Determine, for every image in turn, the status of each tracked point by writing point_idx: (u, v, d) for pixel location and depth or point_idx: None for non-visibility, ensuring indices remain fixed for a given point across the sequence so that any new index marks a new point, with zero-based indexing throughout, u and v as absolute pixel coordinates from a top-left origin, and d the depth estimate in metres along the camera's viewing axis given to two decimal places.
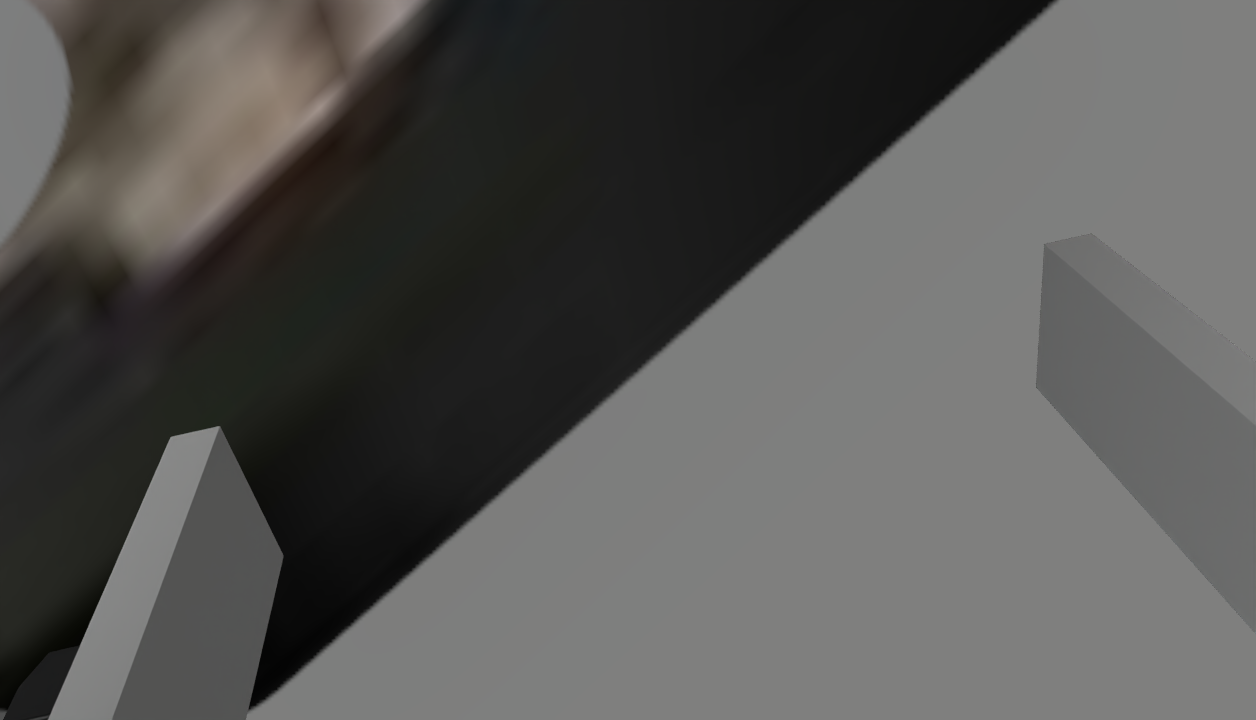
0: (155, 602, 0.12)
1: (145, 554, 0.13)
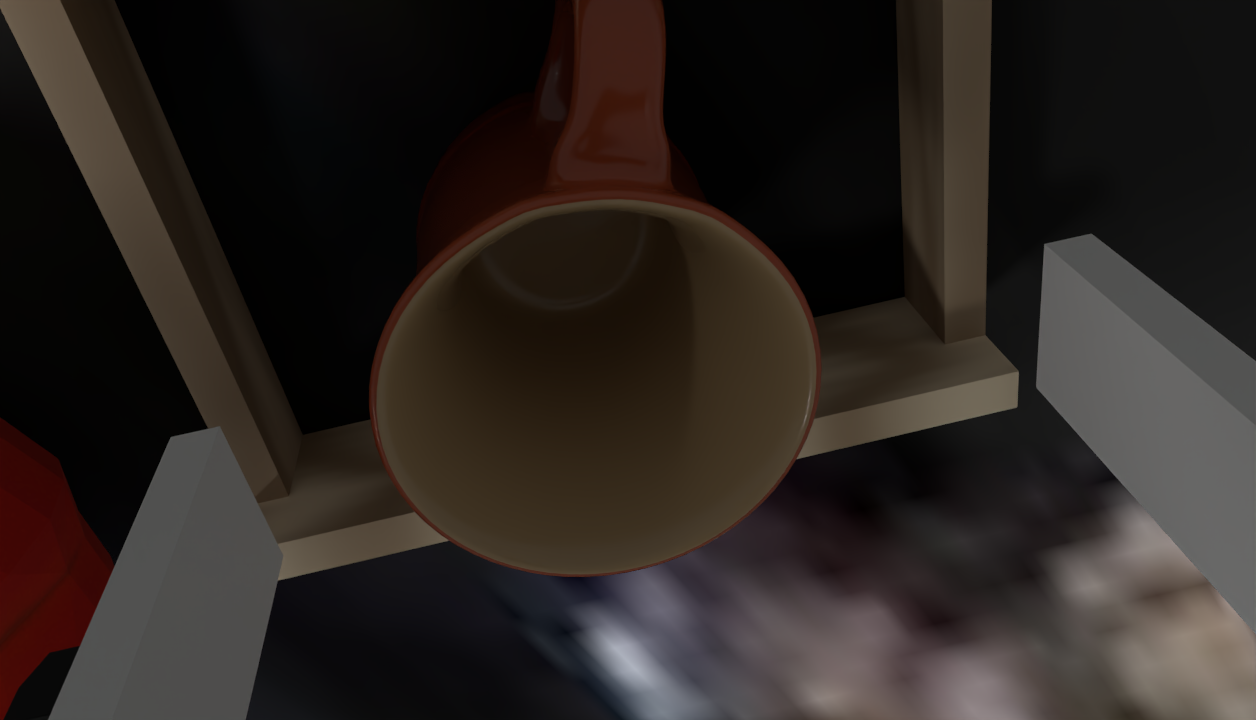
0: (155, 602, 0.12)
1: (145, 554, 0.13)
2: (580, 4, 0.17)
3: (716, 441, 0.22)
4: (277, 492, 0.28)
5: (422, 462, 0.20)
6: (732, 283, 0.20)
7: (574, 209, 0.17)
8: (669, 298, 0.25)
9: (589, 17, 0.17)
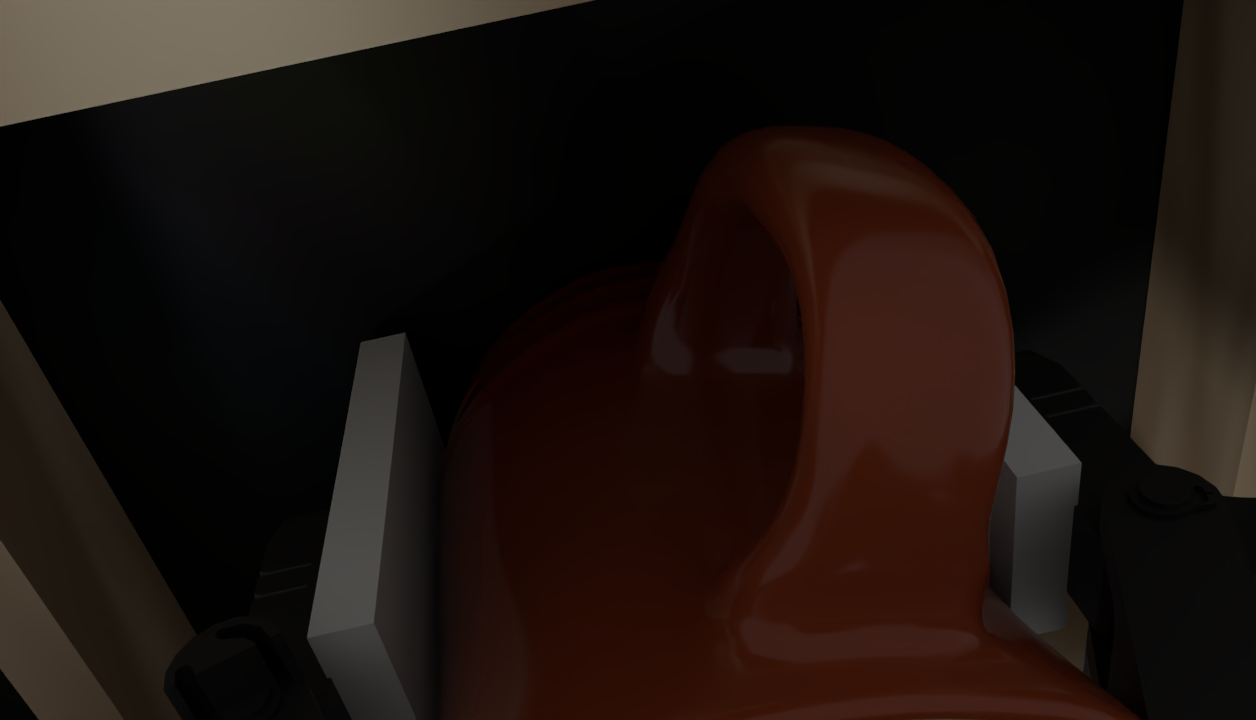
0: (390, 467, 0.13)
1: (368, 432, 0.14)
2: (825, 289, 0.07)
3: None
4: None
5: None
6: None
7: None
8: None
9: (851, 325, 0.07)
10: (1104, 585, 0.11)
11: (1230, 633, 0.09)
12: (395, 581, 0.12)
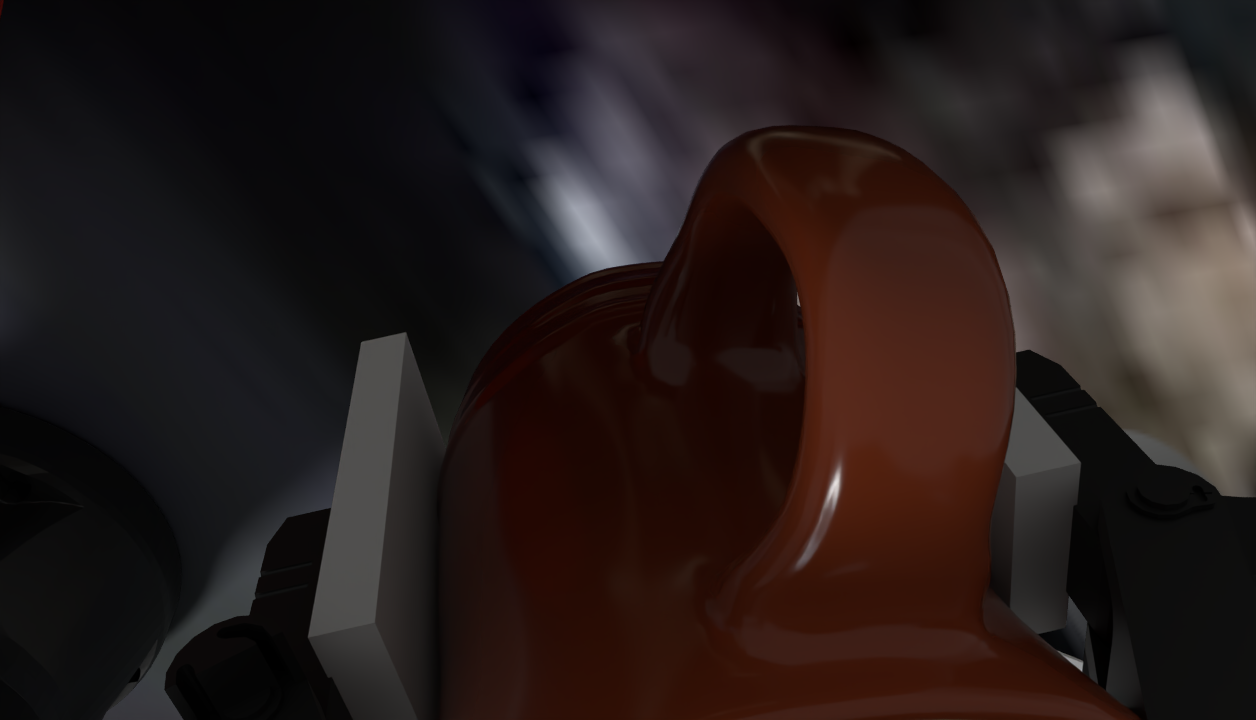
0: (392, 467, 0.13)
1: (369, 431, 0.14)
2: (826, 289, 0.07)
3: None
4: None
5: None
6: None
7: None
8: None
9: (852, 325, 0.07)
10: (1103, 585, 0.11)
11: (1230, 633, 0.09)
12: (396, 580, 0.12)
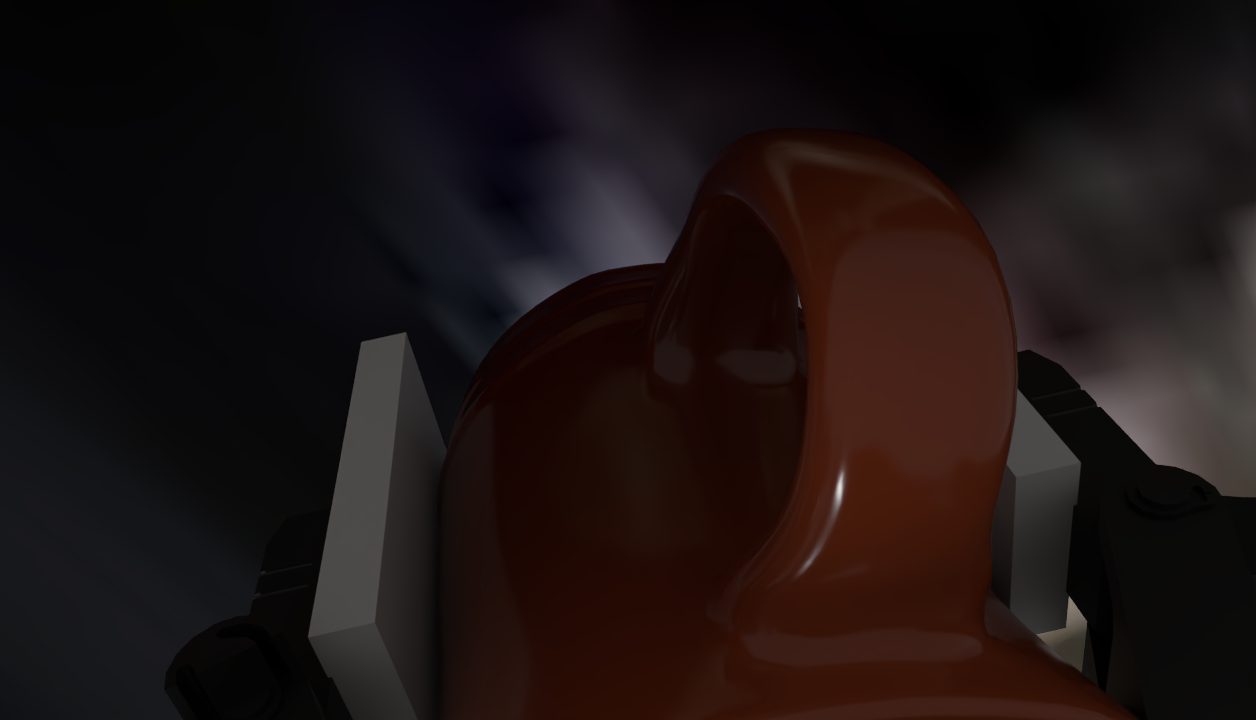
0: (391, 467, 0.13)
1: (369, 431, 0.14)
2: (828, 290, 0.07)
3: None
4: None
5: None
6: None
7: None
8: None
9: (854, 328, 0.07)
10: (1103, 585, 0.11)
11: (1228, 633, 0.09)
12: (396, 580, 0.12)
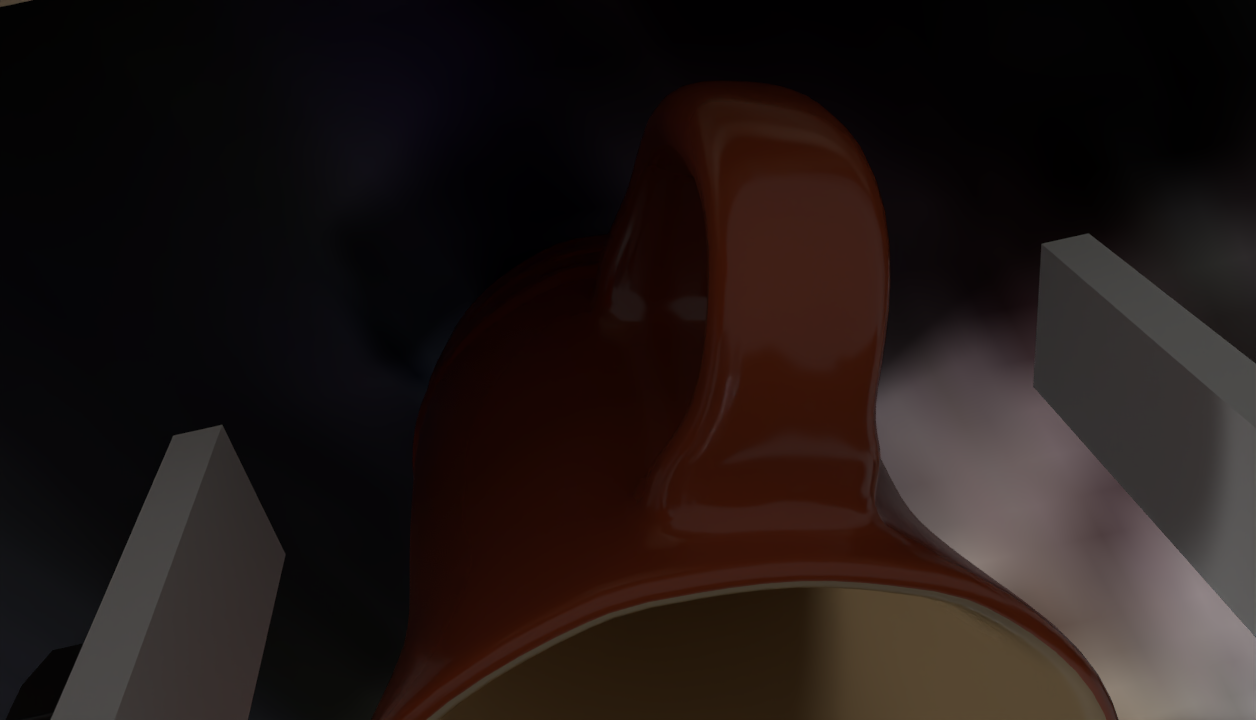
0: (158, 600, 0.12)
1: (148, 552, 0.13)
2: (722, 200, 0.08)
3: None
4: None
5: None
6: (944, 621, 0.12)
7: (705, 597, 0.09)
8: None
9: (743, 230, 0.08)
10: None
11: None
12: None
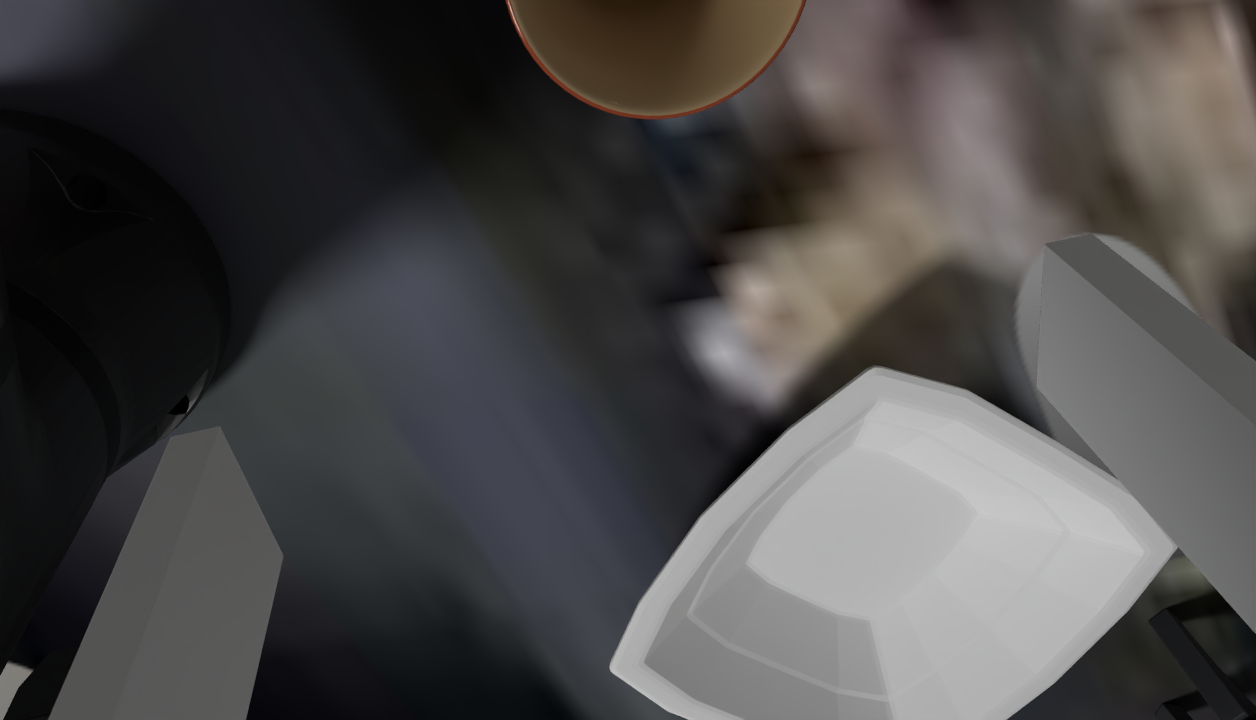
0: (155, 602, 0.12)
1: (145, 554, 0.13)
2: None
3: (733, 37, 0.30)
4: None
5: (527, 1, 0.28)
6: None
7: None
8: None
9: None
10: None
11: None
12: None
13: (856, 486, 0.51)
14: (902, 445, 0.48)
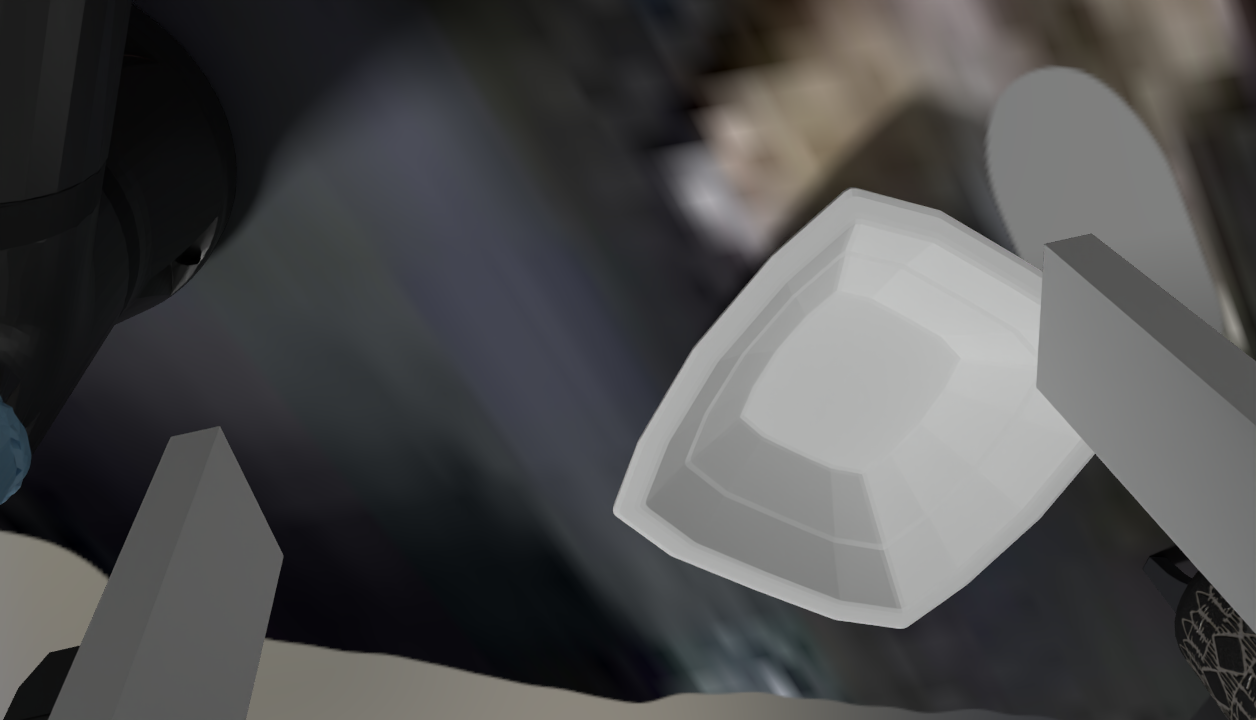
0: (155, 601, 0.12)
1: (145, 554, 0.13)
2: None
3: None
4: None
5: None
6: None
7: None
8: None
9: None
10: None
11: None
12: None
13: (842, 333, 0.53)
14: (883, 286, 0.51)
